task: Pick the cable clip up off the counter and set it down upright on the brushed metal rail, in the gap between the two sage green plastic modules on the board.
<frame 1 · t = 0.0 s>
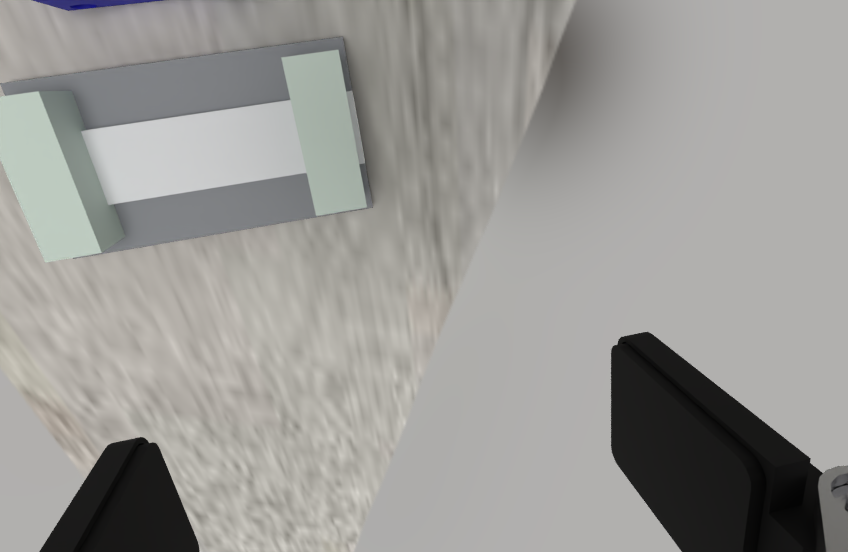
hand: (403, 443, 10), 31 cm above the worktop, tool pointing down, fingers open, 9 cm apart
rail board: (207, 149, 37), on the worktop
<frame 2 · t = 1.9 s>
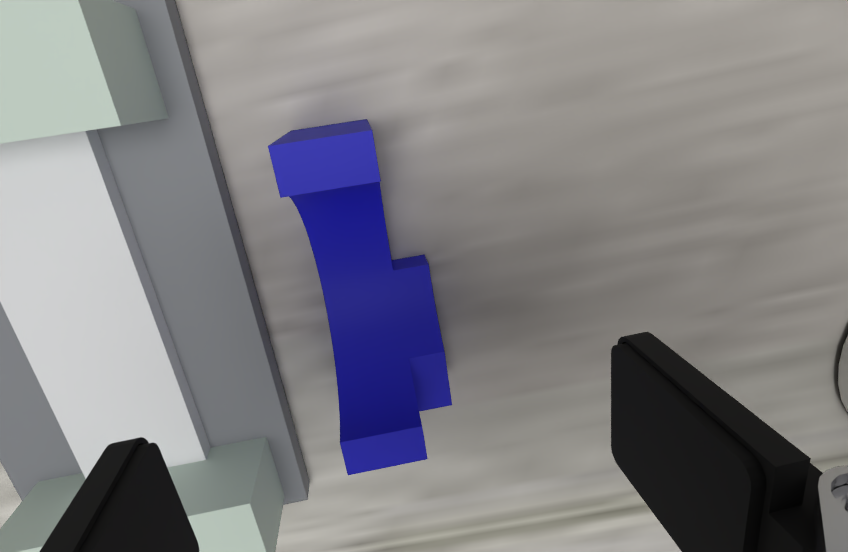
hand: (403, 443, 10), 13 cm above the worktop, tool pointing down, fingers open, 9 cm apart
cable clip: (373, 260, 23), on the worktop
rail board: (109, 307, 21), on the worktop
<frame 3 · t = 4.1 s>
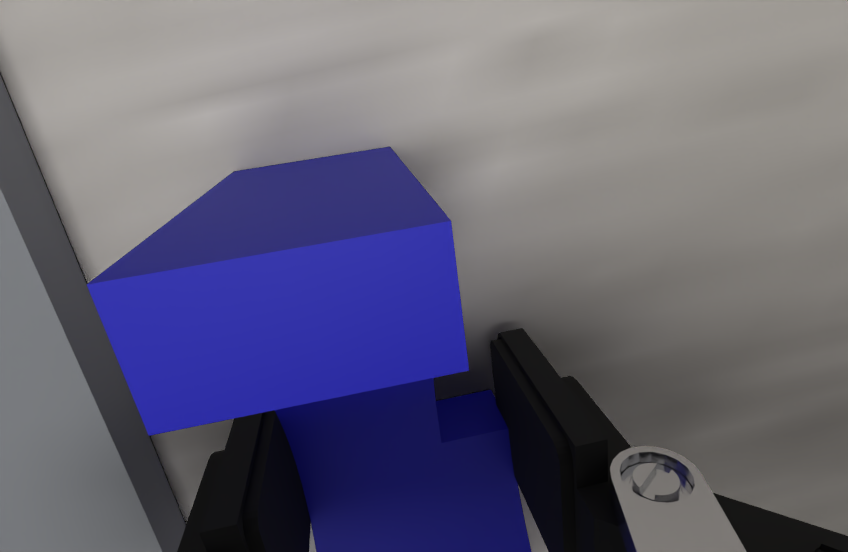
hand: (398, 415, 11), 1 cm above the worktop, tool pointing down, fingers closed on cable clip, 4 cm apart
cable clip: (398, 403, 12), on the worktop, touching gripper
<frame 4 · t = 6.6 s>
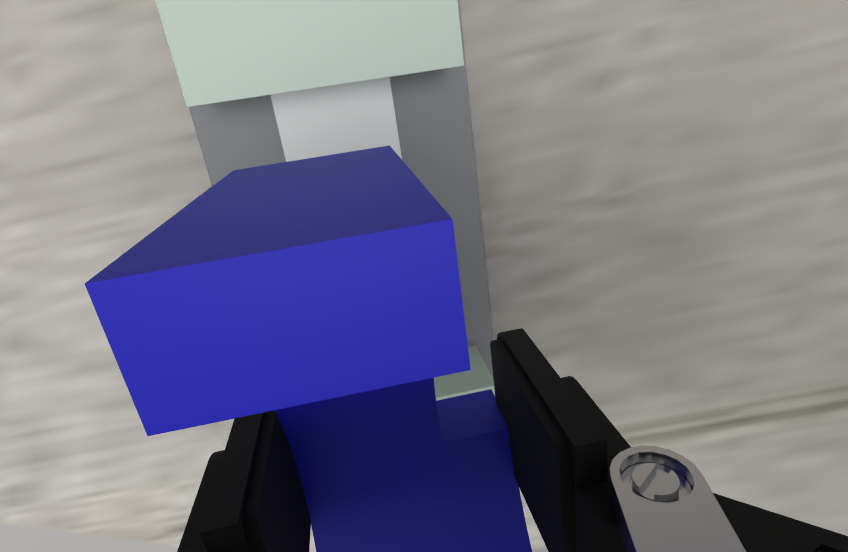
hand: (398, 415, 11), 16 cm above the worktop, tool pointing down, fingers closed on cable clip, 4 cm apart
cable clip: (398, 403, 12), point 15 cm above the worktop, touching gripper
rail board: (359, 232, 26), on the worktop
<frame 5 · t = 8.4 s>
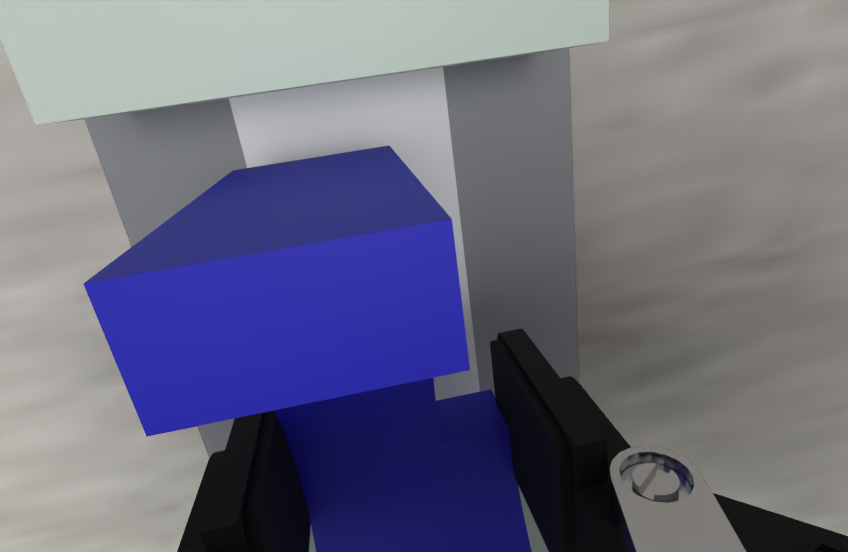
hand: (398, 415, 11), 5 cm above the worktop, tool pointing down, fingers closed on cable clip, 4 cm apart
cable clip: (398, 403, 12), point 4 cm above the worktop, touching gripper
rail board: (381, 315, 16), on the worktop
when the fingers open (4 cm above the worktop, at t = 9.5 s): cable clip drops 1 cm, resting on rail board.
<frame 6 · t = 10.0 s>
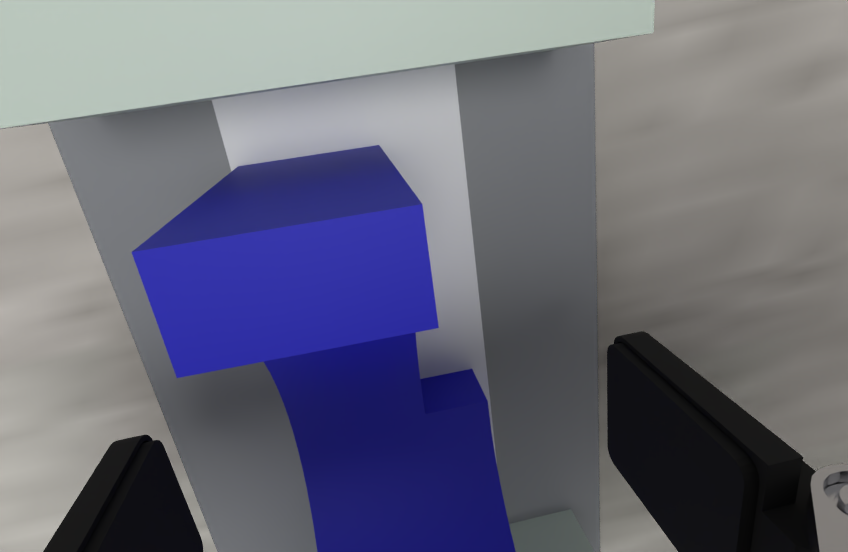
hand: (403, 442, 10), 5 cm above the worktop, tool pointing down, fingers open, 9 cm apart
cable clip: (386, 381, 13), point 2 cm above the worktop, touching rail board
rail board: (383, 336, 15), on the worktop
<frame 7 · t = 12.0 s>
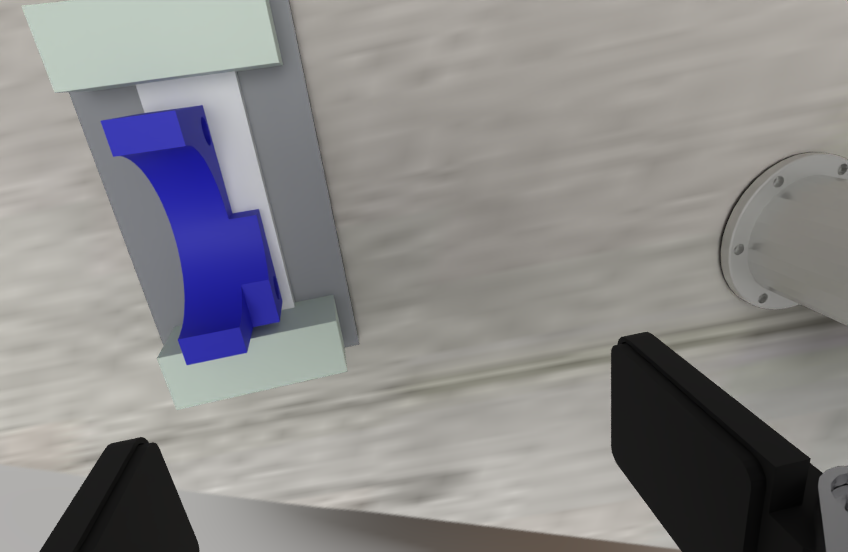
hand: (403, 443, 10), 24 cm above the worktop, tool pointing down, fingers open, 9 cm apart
cable clip: (219, 214, 29), point 2 cm above the worktop, touching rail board
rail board: (228, 200, 31), on the worktop
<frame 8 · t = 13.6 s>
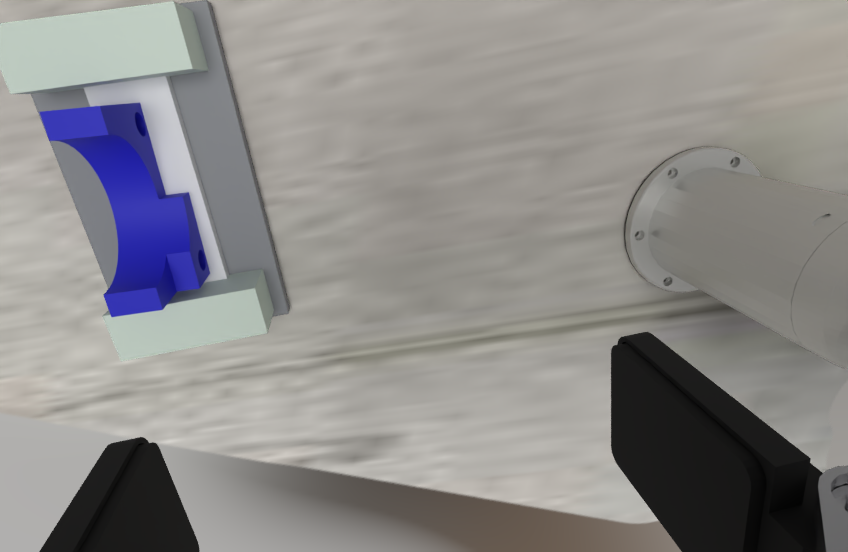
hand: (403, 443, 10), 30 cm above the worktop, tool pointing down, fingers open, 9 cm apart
cable clip: (155, 195, 35), point 2 cm above the worktop, touching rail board
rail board: (170, 185, 36), on the worktop
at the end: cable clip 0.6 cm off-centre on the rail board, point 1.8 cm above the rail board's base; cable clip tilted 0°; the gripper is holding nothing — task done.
